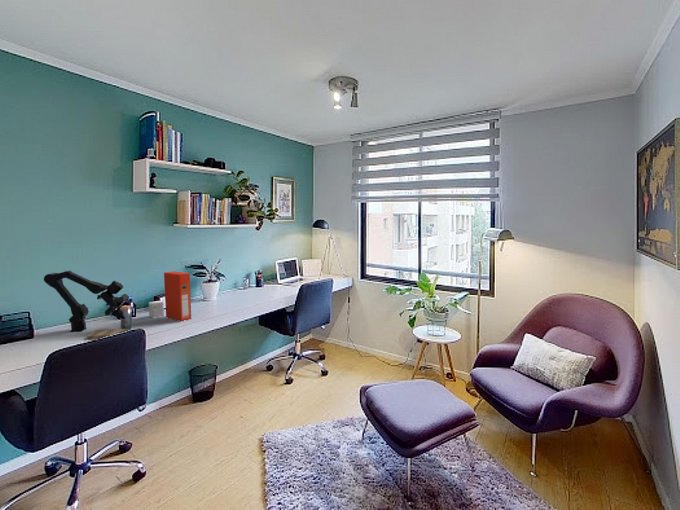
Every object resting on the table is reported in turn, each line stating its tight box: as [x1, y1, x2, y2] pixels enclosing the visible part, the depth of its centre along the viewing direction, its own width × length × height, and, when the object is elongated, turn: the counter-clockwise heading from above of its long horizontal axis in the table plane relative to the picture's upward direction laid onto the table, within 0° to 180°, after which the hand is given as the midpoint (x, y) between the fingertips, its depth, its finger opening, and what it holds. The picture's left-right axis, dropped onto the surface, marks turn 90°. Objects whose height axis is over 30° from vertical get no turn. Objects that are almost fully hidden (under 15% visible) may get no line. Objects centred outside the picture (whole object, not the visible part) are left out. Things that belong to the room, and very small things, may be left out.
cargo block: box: [120, 305, 131, 310], centre depth 224 cm, size 4×4×2 cm
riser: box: [86, 328, 130, 340], centre depth 213 cm, size 18×11×2 cm, turn 102°
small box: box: [148, 300, 165, 319], centre depth 254 cm, size 8×6×10 cm
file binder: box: [163, 270, 192, 322], centre depth 249 cm, size 8×17×32 cm, turn 58°
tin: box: [119, 307, 133, 330], centre depth 225 cm, size 6×6×12 cm
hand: (128, 317), depth 225 cm, fingers closed on tin, 6 cm apart
